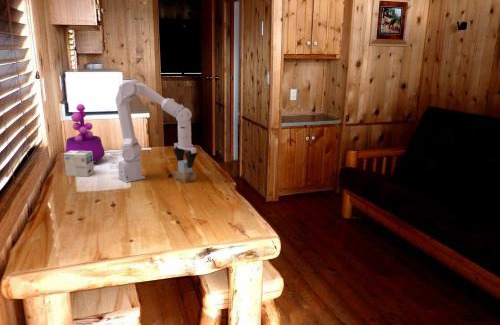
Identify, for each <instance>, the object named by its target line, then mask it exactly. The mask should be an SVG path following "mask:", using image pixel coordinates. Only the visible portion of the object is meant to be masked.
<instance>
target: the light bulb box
mask: <svg viewBox="0 0 500 325" xmlns="http://www.w3.org/2000/svg"><path fill="white" fill-rule="evenodd" d="M63 159H64V164H65V165H64V166H65V167H64V168H65V175H66V177H85V178H87V177H89V176H91V175H93V174H95V166H94V162H93V155H92V151H72V150H71V151H69V152H67V153H65V152H64V153H63Z"/></svg>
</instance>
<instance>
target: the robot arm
mask: <svg viewBox="0 0 500 325" xmlns="http://www.w3.org/2000/svg"><path fill="white" fill-rule="evenodd" d="M134 96H145V97H146V98H148V99H150V100H151V101H154V102H155V103H157V104H159V105H160V107H161V110H163V111H164V112H166V113H167V114H169V115H170V116H172V117H174V118H175V119H176V121H177V140H178V141H177V142H174V143H173V146H174V147H173V149H172V151H173V153H174V155H175V158H176V160H177V162H178V161H181V160H186V159H187V166H188V168H192V169H193V166H194V163H195V160H196V157H197V155H198V152H197V148H196V147H194V145H193V144H192V122H191V118H192V117H193V116H192V111H191V110H190V109H189V107H185V106H184V105H180V103H177V102H176V101H175V99H174V98H169V97H167V98H165V97H164V96H162V95H161V94H160V93H158V92H157V91H155V90H153V89H152V88H151V87H149V85H146V83H143V82H141V81H140V80H138V79H136V78H135V79H134V78H133V79H130V80H125V81H123V82H121V84H120V85H118V91H117V94H116V96H115V104H116V109H117V114H118V115H117V116H118V120H119V124H120V129H121V134H122V144H121V147H122V150H121V157H122V159H123V160H121V161H119V162H118V164H117V166H118V168H117V169H118V179H119V180H121V181H123V182H125V183H129V182H134V181H139V180H143V179H144V180H145V179H146V177H145V176H144V175H142V161H141V159H142V158H141V156H140V155H141V154H142V152H143V151H142V146H141V145H140V144H139V140H138V138H137V137H136V133H135V128H134V124H133V122H134V121H133V118H132V112H131V107H130V101H131V100H132V99H133V98H134ZM184 158H185V159H184Z"/></svg>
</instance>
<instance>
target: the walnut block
mask: <svg viewBox="0 0 500 325" xmlns="http://www.w3.org/2000/svg"><path fill="white" fill-rule="evenodd" d="M176 171H177V172H175V176H174V177H175V181H178V182H181V183H184V184H186V183H190V182H193V181H196V180H197V172H196V171H195V170H192V172H191V173H186V174H182V173H180V172H178V170H176Z"/></svg>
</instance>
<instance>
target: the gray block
mask: <svg viewBox="0 0 500 325" xmlns="http://www.w3.org/2000/svg"><path fill="white" fill-rule="evenodd" d="M177 171H178V172H180V173H182V174H186V173H191V172H192V171H193V167H192V168H188V166H187V159H186V158H185V159H184V160H181V161H177Z"/></svg>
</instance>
